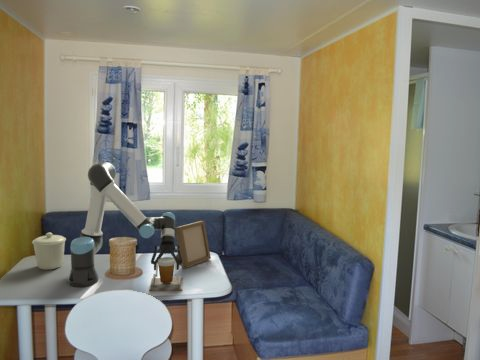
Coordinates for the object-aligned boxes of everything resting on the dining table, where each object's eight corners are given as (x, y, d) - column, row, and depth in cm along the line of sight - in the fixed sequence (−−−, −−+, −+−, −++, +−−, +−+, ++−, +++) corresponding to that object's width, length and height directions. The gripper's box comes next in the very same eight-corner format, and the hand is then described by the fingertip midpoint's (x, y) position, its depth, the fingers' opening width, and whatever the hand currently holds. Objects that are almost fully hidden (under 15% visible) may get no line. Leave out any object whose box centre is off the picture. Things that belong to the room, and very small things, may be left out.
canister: (54, 273, 224) (52, 237, 222) (26, 270, 228) (24, 235, 225) (73, 263, 242) (72, 229, 239) (46, 260, 245) (45, 227, 242)
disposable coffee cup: (167, 276, 219) (167, 255, 217) (179, 280, 213) (179, 259, 211) (153, 281, 211) (153, 259, 210) (165, 286, 205) (165, 264, 204)
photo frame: (210, 260, 254) (210, 222, 250) (186, 269, 236) (186, 228, 233) (194, 255, 262) (194, 218, 259) (169, 264, 245) (169, 224, 242)
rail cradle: (148, 291, 203) (148, 285, 203) (151, 279, 219) (151, 274, 219) (182, 290, 206) (182, 284, 205) (182, 278, 221) (182, 273, 221)
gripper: (187, 241, 226) (187, 277, 213) (148, 241, 223) (145, 278, 210) (187, 234, 220) (187, 272, 207) (147, 234, 217) (144, 273, 204)
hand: (166, 275), depth 208 cm, fingers closed on disposable coffee cup, 9 cm apart
